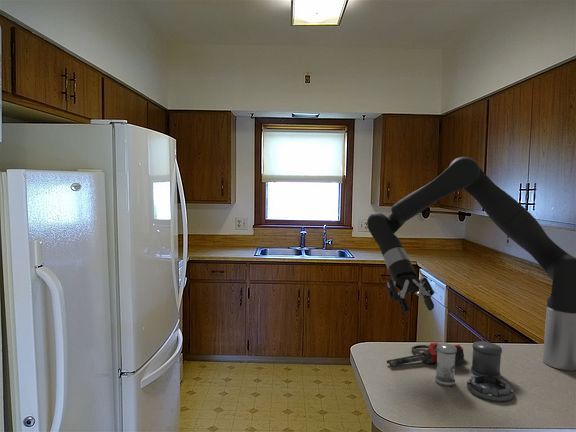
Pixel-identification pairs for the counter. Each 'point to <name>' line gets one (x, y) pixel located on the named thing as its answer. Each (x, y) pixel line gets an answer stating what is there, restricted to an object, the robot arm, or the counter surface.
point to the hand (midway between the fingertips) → (419, 310)
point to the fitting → (445, 364)
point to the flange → (490, 388)
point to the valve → (427, 355)
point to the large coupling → (486, 359)
